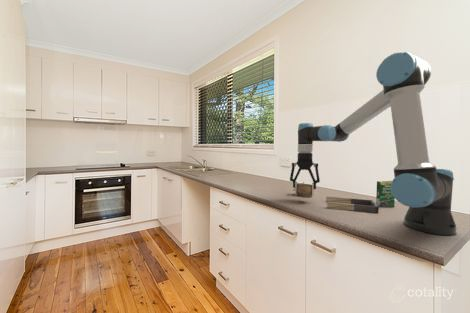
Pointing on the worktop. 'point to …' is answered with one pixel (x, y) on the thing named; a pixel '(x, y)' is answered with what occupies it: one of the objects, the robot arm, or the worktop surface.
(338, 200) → the channel
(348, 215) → the worktop surface
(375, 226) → the worktop surface
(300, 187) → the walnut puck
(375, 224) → the worktop surface
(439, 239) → the worktop surface
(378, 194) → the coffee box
